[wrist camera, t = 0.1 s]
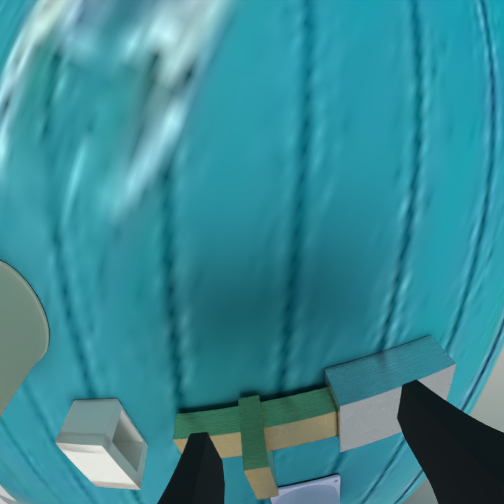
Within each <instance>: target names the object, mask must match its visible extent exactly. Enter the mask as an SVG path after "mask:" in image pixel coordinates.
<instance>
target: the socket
mask: <svg viewBox="0 0 504 504" xmlns="http://www.w3.org/2000/svg"><path fill="white" fill-rule="evenodd" d="M55 443H56V444H57V445H58V447H59V448H60V449H61V450H62V451H63V452H64V453H65V455H66V456H67V457H68V458H69V459H70V460H71V461H72V462H73V463H74V464H75V465H76V466H77V467H78V468H79V470H80V471H81V472H82V473H83V474H84V475H85V476H86V477H87V478H88V479H89V480H90V481H91V482H92V483H94V484H95V485H96V486H99V487H109V488H122V489H141V484H142V478H143V472H144V466H145V461H146V455H147V450H148V444H147V443H146V442H145V440H144V439H143V437H142V436H141V434H140V433H139V431H138V430H137V429H136V427H135V426H134V424H133V422H132V421H131V419H130V418H129V416H128V415H127V413H126V412H125V410H124V408H123V407H122V405H121V404H120V402H119V400H118V399H117V398H115V399H92V400H74V401H73V404H72V406H71V408H70V410H69V412H68V414H67V417H66V419H65V421H64V423H63V425H62V428H61V430H60V432H59V434H58V437H57V439H56V441H55Z"/></svg>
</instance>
